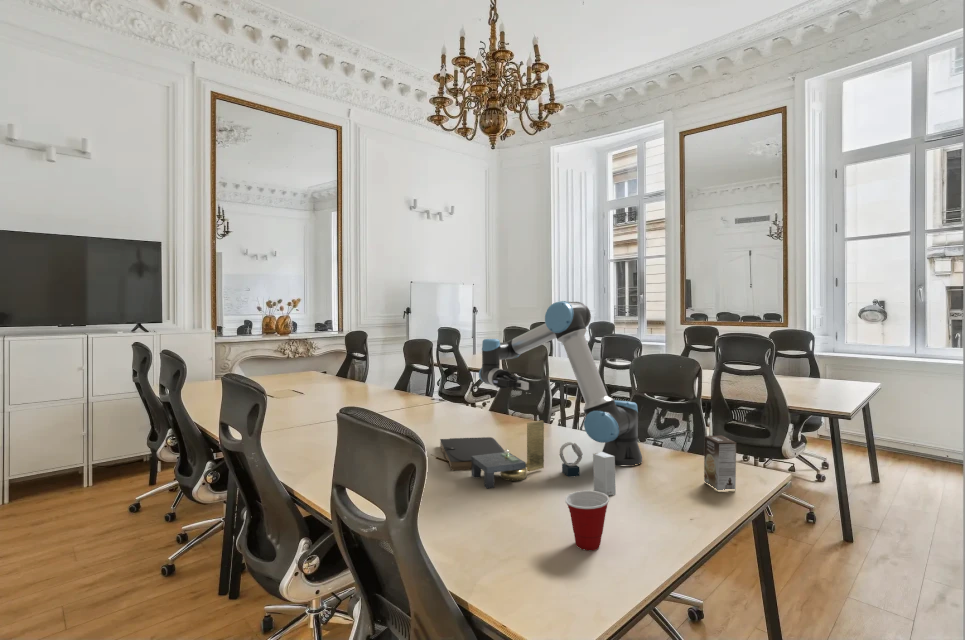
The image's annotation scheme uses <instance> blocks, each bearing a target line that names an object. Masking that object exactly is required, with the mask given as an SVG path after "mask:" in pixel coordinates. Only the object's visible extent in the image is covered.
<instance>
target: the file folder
mask: <svg viewBox="0 0 965 640" xmlns="http://www.w3.org/2000/svg"><path fill="white" fill-rule="evenodd" d="M439 443H440V445H439V446H440V449H441V451H442V453H444V454H445V455H446V456H445V455H444V454H443V455H444V456H445V459H446V461H447V460H448V461H449V462H448V461H447V462H448V463H449V466H450V471H461V470H462V471H463V470H464V471H465V470H472V462H471V456H476V455H484V454H493V453H501V452H504V451H505V449H504V448H503V447H502V446H501V445H500V444H499V443H498V441H497V440H496V439H495V438H493V437H490V436H487V437H485V436H483V437H460V438H459V437H458V438H457V437H453V438H452V437H451V438H440V439H439Z"/></svg>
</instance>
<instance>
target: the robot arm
mask: <svg viewBox="0 0 965 640" xmlns="http://www.w3.org/2000/svg"><path fill="white" fill-rule="evenodd" d="M544 315H545V316H544V323H543V324H541V325H539V326H536V327H535V328H532V329H530V330H528V331H527V332H524V333H522V334H520V335H518V336H516V337H514V338H513V339H510V340H508V341H504V342H500V341H501V340H500V339H499V338H484V339H483V340H482V347H481V356H482V357H481V363H482V364H481V368H480V369H479V371H478V378H479V379H480V381H481V382H483V383H484V384H487V385H490V386H494V387H496V389H507V388H513V390H517V389H521V390H524V391H528V390H530V383H529V382H528V381H527V379H526V378H524V377H523V376H518V377H516V376H513V375H512V374H511V372H509V371H508V370H506V369H504V368H503V369H502V368H500V367H501V365H500V363H501V361H502V360H503V361H504V360H513V359H516V358H519V356H521V354H524V353H526V352H528V351H530V350H533V349H535V348H537V347H539V346H542V345H544V344H546V343H548V342H550V341H552V340H555V339H556V340H557V342H560V343H561V344H562V345H563V347H564V350H565V352H566V355H567V358H568V361H569V363H570V366H571V369H572V372H573V373H574V376H575V379H576V382H577V384H578V387H579V389H580V393H581V395H582V397H583V400H584V403H585V405H584V407H583V413H584V415H585V417H584V421H583V426H584V431H585V432H586V435H587V436H588V437H589V438H590V439H591V440H593V441H595V442H597V443H601V444H603V443H604V444H603V448H602V450H601V452H604V453H607V454H610V455H612V456H615V466H616V465H635V464H639V463H641V462H642V463H643V455H642V451H641V448H640V446H639V443H638V442H639V441H638V436H639V435H638V428H639V427H638V425H639V424H638V423H639V411H638V404H637V403H636V402H634V401H626V400H617V399H614V398H612V397H610V396H609V395H608V392H607V390H606V388H605V385H604V383H603V382H604V381H603V380H602V378H601V375H600V372H599V370H598V366H597V365H596V362H595V360H594V359H595V358H594V357H593V355H592V352H591V351H592V350H591V349H590V346H589V344H588V341H587V339H586V336H585V335H586V332H587V327H588V326H589V324H590V322H591V319H592V315H591V310H590V308H589V307H588V306H587V305H586V304H585V303H583V302H580V301H567V300H562V301H561V300H560V301H556V302H554V303H552V304H551V305H549V307H548V308H547V309H546V312H545V314H544ZM642 463H641V464H642Z"/></svg>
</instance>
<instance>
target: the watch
mask: <svg viewBox="0 0 965 640" xmlns="http://www.w3.org/2000/svg"><path fill="white" fill-rule="evenodd" d="M568 446H571V447H572V448H571V449H572V450H573V452H574V453H575V455H576V456H577V459H576V460H575V461H574V462H567V460H566V459H565V456H564V450H565V448H567V447H568ZM558 455H559V457H560V460H561V461H562V464H561V473H562V474H564V475H565V476H566V477H567V478H573V477H574V476H575V477H580V476H581V475H580V469H581V468H580V466H579V464H580V462H582V459H583V452H582V450H581V448H580V447H579V445H578V444H577V443H576V442H574V443H573V442H571V441H569V442H565V443H564V444H562V445H561V446H560V448H559V454H558Z"/></svg>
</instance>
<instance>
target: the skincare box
mask: <svg viewBox="0 0 965 640" xmlns="http://www.w3.org/2000/svg"><path fill="white" fill-rule="evenodd" d="M592 460H593V461H592V464H593V469H592V470H593V491H597V492H601V493H604V494H606V495H607V496H608V497H609V495H610V496H613V494H614V495H616V493H617V492H616V487H617V486H616V465H615V456H612V455H610V454H607V453H604V452H602V451H600V452H595V453H592Z"/></svg>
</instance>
